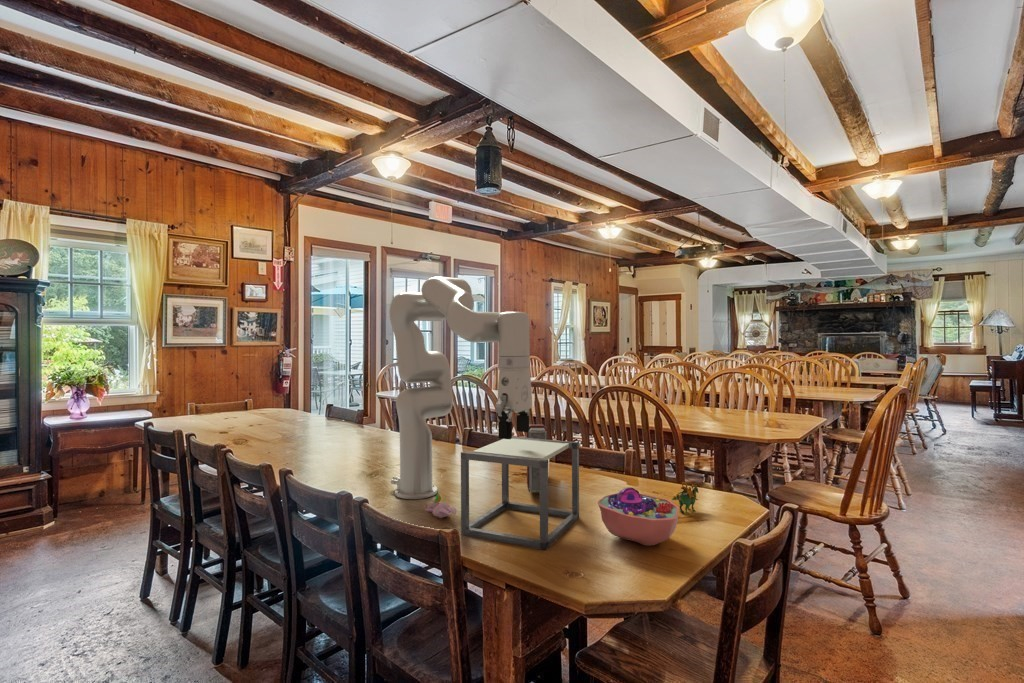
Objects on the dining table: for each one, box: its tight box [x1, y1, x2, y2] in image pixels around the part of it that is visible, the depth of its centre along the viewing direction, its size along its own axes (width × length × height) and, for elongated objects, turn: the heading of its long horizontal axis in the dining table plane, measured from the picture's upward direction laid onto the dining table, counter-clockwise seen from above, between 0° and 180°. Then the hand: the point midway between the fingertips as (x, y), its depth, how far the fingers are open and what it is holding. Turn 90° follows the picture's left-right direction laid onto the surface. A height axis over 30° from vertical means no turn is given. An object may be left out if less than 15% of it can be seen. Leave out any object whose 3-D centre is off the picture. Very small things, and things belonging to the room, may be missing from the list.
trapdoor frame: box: [460, 436, 580, 551], centre depth 130 cm, size 22×23×20 cm
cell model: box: [597, 487, 680, 547], centre depth 121 cm, size 17×20×11 cm
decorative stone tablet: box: [526, 423, 549, 493], centre depth 166 cm, size 19×6×30 cm
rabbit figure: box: [424, 493, 457, 519], centre depth 137 cm, size 6×6×15 cm
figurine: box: [671, 481, 699, 515], centre depth 139 cm, size 3×12×8 cm, turn 128°
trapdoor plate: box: [471, 438, 569, 461], centre depth 130 cm, size 18×19×1 cm
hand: (514, 435), depth 126 cm, fingers open, 9 cm apart
